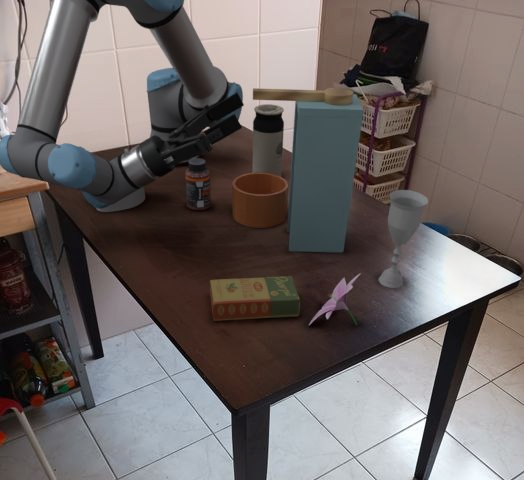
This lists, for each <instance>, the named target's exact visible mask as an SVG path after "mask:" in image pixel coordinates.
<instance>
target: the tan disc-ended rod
mask: <svg viewBox="0 0 524 480" xmlns="http://www.w3.org/2000/svg"><path fill="white" fill-rule="evenodd" d="M353 94H354V91H353V90H351V89H350V88H349V89H348V88H346V87H327V88H325V89H324V90H321V89H318V90H317V89H287V88H252V101H254V100H255V101H278V102H279V101H281V102H295V101H312V102H325V103H328V104H332V105H348V104H351V103H352V100H353Z"/></svg>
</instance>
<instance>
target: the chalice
mask: <svg viewBox="0 0 524 480" xmlns="http://www.w3.org/2000/svg"><path fill="white" fill-rule="evenodd" d="M389 199H390V206H389V211H388V216H387V225H388V231H389V234H390V238H391V241H392V243H393V244H395V248H394V249H393V251H392V253H393V257H391V258H390V261H391V266H390V267H388V268H385V269H384V270H383V271H382V273H381V275H380V276H379V277H378V282H379V284H380V285H382V286H383V287H386V288H390V289H397V288H401V287H402V286H403V285H404V279H403V276H402V275H403V274H402V272H401V271H400V269H399V268H397V267H398V264H400V262H401V260H400V259H399V257H400V255H402V250H401V248H402V246H405V245H406V244H407V243H408V242H409V241H410V240H411V239H412V238H413V236H414V235H415V234H416V233H417V231H418V229H419V227H420V224H421V220H422V215H423V212H424V208H426V206H427V205H428V203H429V200H428V198H427V197H426V196H425V195H424V194H422V193H420V192H418V191H414V190H409V189H397V190H394V191H393V190H392V191H391V192H390V194H389Z"/></svg>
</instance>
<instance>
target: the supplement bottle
mask: <svg viewBox="0 0 524 480" xmlns="http://www.w3.org/2000/svg"><path fill="white" fill-rule="evenodd" d="M184 179H185V194H186V197H185V198H186V206H187V208H188V209H190V210H192V211H206V210H207V209H209V208H210V207H211V205H212V198H211V197H212V195H211V172H210V170H209V169H208V168H207V163H206V160H205V159H203V158H199V159H191V160H189V164H188V168H187V169H186V170H185V172H184Z"/></svg>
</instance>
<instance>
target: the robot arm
mask: <svg viewBox="0 0 524 480" xmlns="http://www.w3.org/2000/svg"><path fill="white" fill-rule="evenodd" d="M49 1H50V2H51V3H50V8H49V10H48V14H47V18H46V20H45V21H46V22H45V25H44V28H43V33H42V36H41V39H40V43H39V47H38V49H37V53H36V57H35V60H34V64H33V68H32V70H31V71H32V72H31V75H30V79H29V82H28V86H27V89H26V92H25V96H24V100H23V103H22V107H21V110H20V114H19V117H18V122H17V126H16V128H15V132H14V133H13V134H6V135H4V136H2V138H1V140H0V167H1V168H2V169H3V170H4V171H6V173H9V174H13V175H16V176H19V177H20V178H24V179H25V178H26V179H31V180H37V181H40V182H44V183H48V184H52V185H56V186H61V187H63V188H70V189H74V190H77V191H81V193H82V195H83V197H84V199H85V200H86V201H87V203H89V204H91V205H92V207H93V208H95V209H96V208H98V209H103V208H105V207H107V206H110V205H113V204H115V203H117V202H118V201H119V200H121V199H123V198H124V197H126V196H128V195H130V194H131V193H133V192H135V191H137V190H138V189H140V188H142V187H144V188H145V187H146V186H147V185H150V184H151V183H154V182H155V181H157V180H158V179H159V178H162V177H164V176H166V175H167V174H170V173H171V172H172V171H174V170H175V167H181V166H187V165H189V160H191V159H201V155H204V154H206V153H210V152H212V151H213V150H214V148H213V147H212V146H213V145H214V144H217V143H218V142H220V141H221V140H224V139H225V138H228V137H229V136H231V135H233V134H234V133H236V132H238V131H240V130H241V129H242V128H243V126H242V124H241V122H240V117H241V114H242V109H243V107H244V102H243V101H244V93H243V88H242V86H241V84H239V83H236V82H235V81H233V82H231V81H229V80H228V79H227V77H226V75H225V73H224V72H223V71H222V70H221V69H220V68H219V67H217V66H214V65H213V62H212V60H211V58H210V56H209V54H208V52H207V50H206V48H205V46H204V45H203V43H202V41H201V39H200V37H199V35H198V33H197V31H196V29H195V27H194V25H193V23H192V21H191V19H190V17H189V15H188V13H187V11H186V8H185V7H184V4H185V0H49ZM106 5H108V6H116V7H124V8H126V9H127V10H128V12H129V13H130V15H131V16H132V18H133V19H134V21H135V23H136V24H137V25H138V26H140V27H141V28H144V29H145V30H149V31H150V33H151V35H152V37H153V38H154V40H155V41H156V43H157V44H158V46H159V47H160V49H161V51H162V52H163V54H164V56H165V57H166V59H167V61H168V62H169V64H170V66H171V67H166V68H162V69H157V70H154V71H152V72H150V73H149V74H148V75H147V76H146V93H147V102H148V110H149V112H148V113H149V120H150V134H149V138H146V139H145V140H143V141H141V142H140V145H139V144H137V145H136V146H133V147H132V148H131V149H130V150H129V148H127V147H126V148H124V150H123V153H121V154H120V155H118V156H116V157H115V158H113V159H111V160H107V159H105V158H103V157H100V156H98V155H97V154H95V153H92V152H91V151H89V150H87V149H85V148H84V147H82V146H80V145H79V146H77V145H75V144H73V143H68V142H67V143H61V144H57V141H58V137H59V133H60V130H61V126H62V123H63V119H64V116H65V113H66V109H67V105H68V102H69V98H70V95H71V91H72V88H73V85H74V81H75V78H76V74H77V71H78V67H79V65H80V60H81V58H82V57H81V56H82V54H83V50H84V46H85V43H86V39H87V36H88V32H89V29H90V25H91V23H93V22H96V21H97V20H98V17H99V14H100V11H101V9H102V8H103V7H104V6H106ZM202 132H203V133H202Z"/></svg>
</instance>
